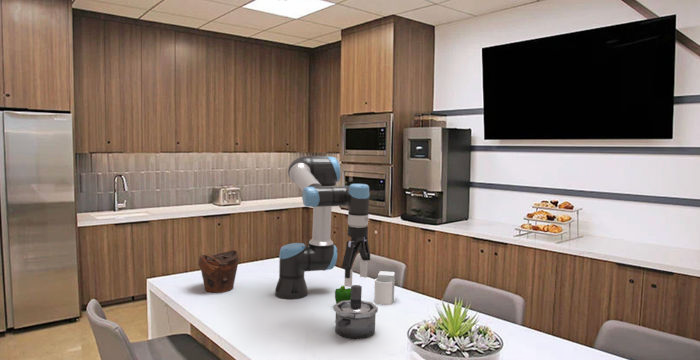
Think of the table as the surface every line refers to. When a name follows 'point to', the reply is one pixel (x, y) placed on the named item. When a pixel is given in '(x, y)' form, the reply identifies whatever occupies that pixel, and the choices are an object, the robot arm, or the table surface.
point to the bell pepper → (342, 294)
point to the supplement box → (387, 279)
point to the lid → (355, 301)
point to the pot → (355, 322)
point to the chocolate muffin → (219, 271)
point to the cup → (383, 292)
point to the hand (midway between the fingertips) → (356, 281)
